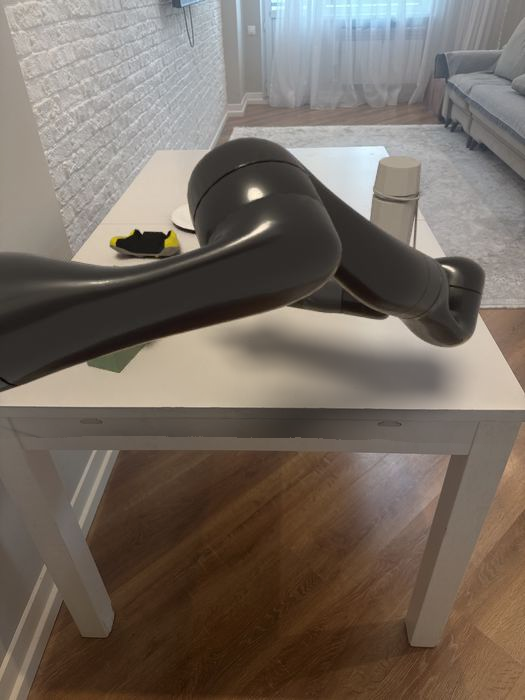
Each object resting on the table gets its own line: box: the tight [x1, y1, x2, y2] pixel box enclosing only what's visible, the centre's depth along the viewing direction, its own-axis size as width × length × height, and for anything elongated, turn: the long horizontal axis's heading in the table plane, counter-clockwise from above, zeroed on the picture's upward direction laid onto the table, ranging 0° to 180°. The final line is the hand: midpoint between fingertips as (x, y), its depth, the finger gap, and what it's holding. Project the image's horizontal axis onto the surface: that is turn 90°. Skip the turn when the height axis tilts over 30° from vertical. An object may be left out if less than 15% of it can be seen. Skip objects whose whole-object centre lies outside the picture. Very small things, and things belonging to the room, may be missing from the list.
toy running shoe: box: [109, 228, 180, 259], centre depth 109 cm, size 15×6×10 cm
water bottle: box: [369, 155, 423, 249], centre depth 85 cm, size 9×8×25 cm
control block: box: [86, 343, 147, 374], centre depth 79 cm, size 6×12×12 cm, turn 160°
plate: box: [170, 203, 195, 232], centre depth 125 cm, size 21×21×2 cm
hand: (190, 262), depth 67 cm, fingers closed
